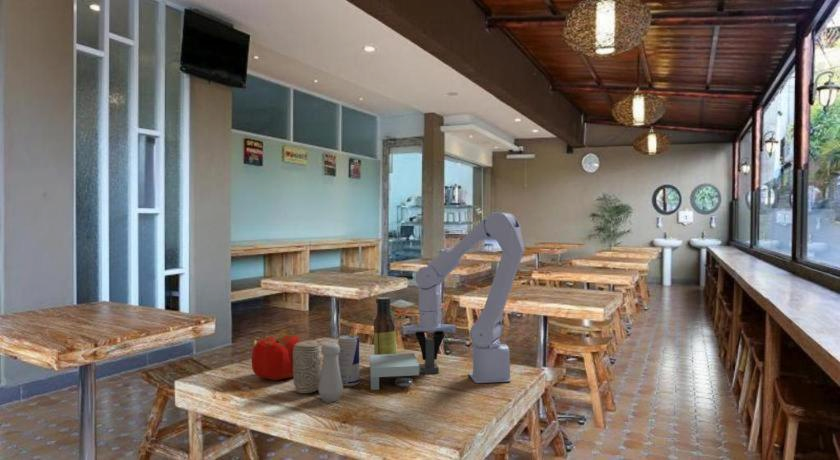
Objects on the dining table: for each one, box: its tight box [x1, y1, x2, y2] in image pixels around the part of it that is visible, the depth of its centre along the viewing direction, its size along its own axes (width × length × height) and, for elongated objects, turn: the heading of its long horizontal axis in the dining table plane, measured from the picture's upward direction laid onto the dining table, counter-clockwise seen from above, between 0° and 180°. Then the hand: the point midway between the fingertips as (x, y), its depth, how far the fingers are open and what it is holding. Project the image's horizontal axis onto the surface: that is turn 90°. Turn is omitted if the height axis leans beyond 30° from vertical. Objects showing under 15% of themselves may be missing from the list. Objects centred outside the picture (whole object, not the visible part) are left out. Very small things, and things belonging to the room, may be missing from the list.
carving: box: [292, 340, 322, 394], centre depth 124 cm, size 6×8×12 cm
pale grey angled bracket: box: [369, 352, 420, 391], centre depth 131 cm, size 12×12×6 cm
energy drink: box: [337, 334, 360, 387], centre depth 130 cm, size 5×5×12 cm
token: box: [395, 377, 414, 388], centre depth 129 cm, size 4×4×1 cm
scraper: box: [418, 337, 440, 375], centre depth 139 cm, size 13×4×9 cm, turn 97°
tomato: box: [251, 334, 302, 381], centre depth 136 cm, size 14×13×10 cm
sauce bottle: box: [373, 296, 397, 355], centre depth 144 cm, size 7×6×20 cm
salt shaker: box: [317, 342, 344, 403], centre depth 118 cm, size 6×6×13 cm
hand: (429, 358), depth 140 cm, fingers closed on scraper, 2 cm apart
